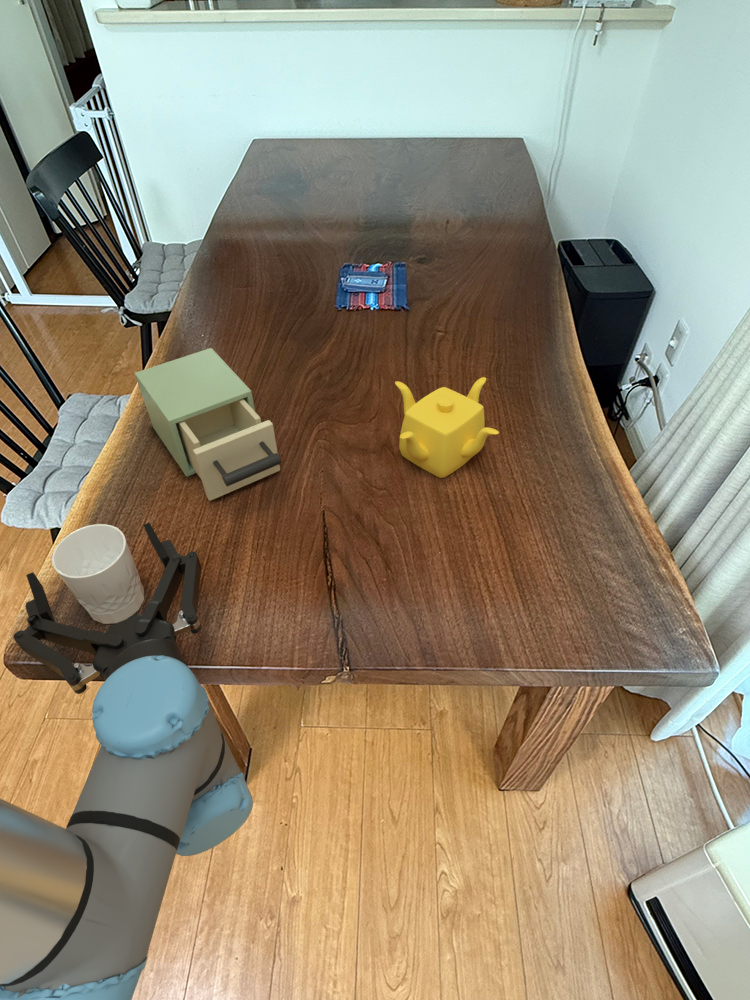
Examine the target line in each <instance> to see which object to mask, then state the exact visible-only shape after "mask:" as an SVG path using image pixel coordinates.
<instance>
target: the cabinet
mask: <svg viewBox="0 0 750 1000" xmlns="http://www.w3.org/2000/svg"><path fill="white" fill-rule="evenodd" d="M134 376H135V379H136V381H137V384H138V388H139V390H140V391H139V392H140V393H141V397H142V399H143V402H144V405H145V408H146V411H147V414H148V417H149V420H150V422H151V426H152V428H153V430H154V431H155V432H156V434H157V435H158V437H159V439H160V440H161V442H162V443H163V444H164V446H165V447H166V449H167V450H168V451H169V453H170V455H171V456H172V457H173V459H174V460H175V462H176V464H177V465H178V467H179V468H180V469H181V471H182V472H183V474H184V476H185V477H187V478H188V477H190V476H192V475H193V476H194V475H195V474H197V473H196V471H195V470H194V469H193V467H192V466H191V464H190V463H189V461H188V460H187V458H186V456H185V452H184V449H183V446H182V443H181V439H180V436H179V433H178V430H177V427H176V424H175V423H178V422H181V421H184V420H186V419H189V418H192V417H194V416H197V415H200V414H202V413H205V412H208V411H211V410H213V409H216V408H219V407H221V406H224V405H227V404H229V403H232V402H235V401H238V400H240V399H244V400H245V401H246V402H247V403H248V405H249V406H250V407H251V408H252V409H253V410H254V411H255V412H256V408H255V403H254V397H253V392H252V390H251V389H250V388H249V386H248V385H246V383H245V382H244V381H243V380H242V379H241V378H240V377H239V376H238V374H236V373H235V372H234V371H233V369H232V368H231V367H230V366H229V365H228V364H227V363H226V362H225V361H224V360H223V359H222V358H221V356H219V354H218V353H217V352H216V351H215V350H214V349H213V348H212V347H209V348H206V349H203V350H200V351H197V352H194V353H190V354H187V355H185V356H182V357H179V358H176V359H172V360H170V361H169V360H168V361H167V362H164V363H160V364H157V365H155V366H152V367H147V368H145V369H142V370H139V371H135V372H134Z"/></svg>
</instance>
